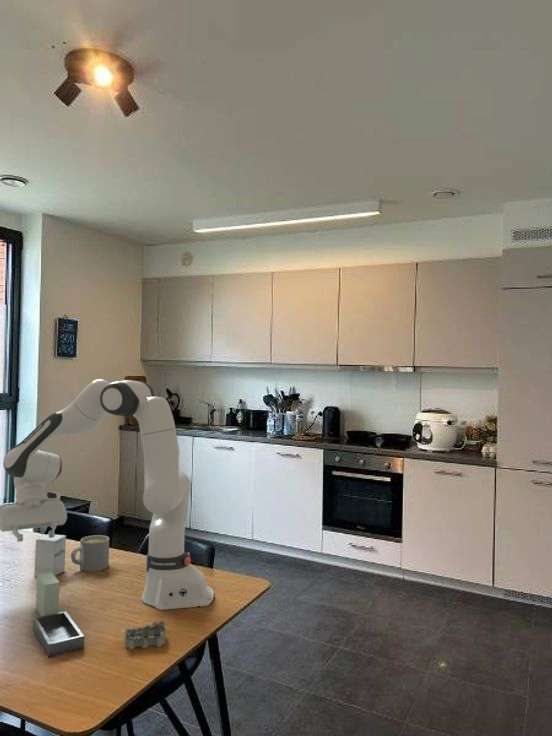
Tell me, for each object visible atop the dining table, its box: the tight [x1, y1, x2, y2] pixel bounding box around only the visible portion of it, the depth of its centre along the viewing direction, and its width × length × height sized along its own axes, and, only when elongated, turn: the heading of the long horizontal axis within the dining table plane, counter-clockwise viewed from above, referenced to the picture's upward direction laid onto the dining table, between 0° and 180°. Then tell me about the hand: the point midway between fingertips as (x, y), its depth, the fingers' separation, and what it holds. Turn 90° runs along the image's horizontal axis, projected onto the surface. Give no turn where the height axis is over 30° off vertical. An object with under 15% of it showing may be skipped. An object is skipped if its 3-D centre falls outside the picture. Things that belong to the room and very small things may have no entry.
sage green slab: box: [35, 572, 60, 616], centre depth 162 cm, size 4×10×10 cm, turn 35°
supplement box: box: [34, 533, 67, 577], centre depth 193 cm, size 7×7×13 cm
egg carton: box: [124, 620, 167, 650], centre depth 146 cm, size 11×8×4 cm
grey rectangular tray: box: [32, 610, 85, 659], centre depth 146 cm, size 9×18×3 cm, turn 35°
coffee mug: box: [70, 534, 110, 573], centre depth 200 cm, size 13×10×10 cm
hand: (36, 538), depth 176 cm, fingers open, 8 cm apart
